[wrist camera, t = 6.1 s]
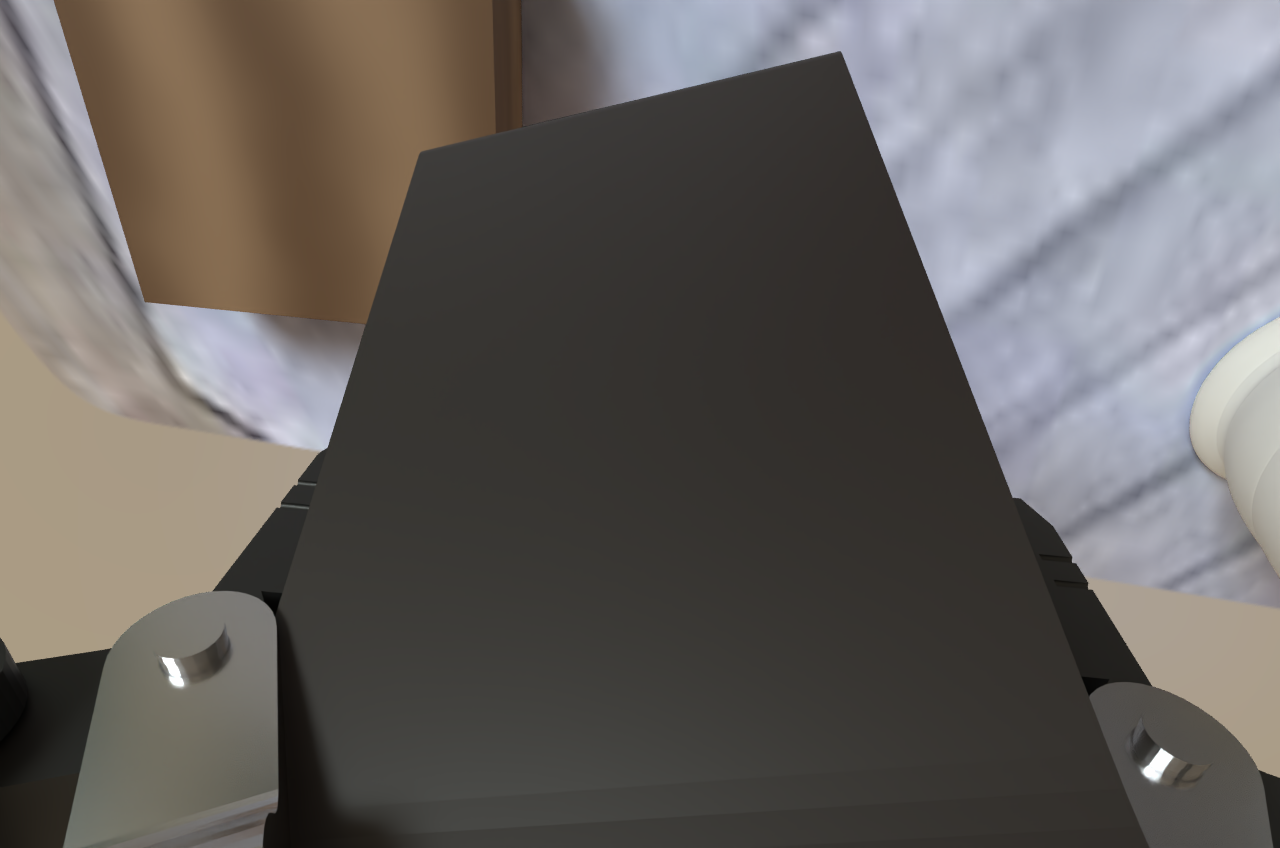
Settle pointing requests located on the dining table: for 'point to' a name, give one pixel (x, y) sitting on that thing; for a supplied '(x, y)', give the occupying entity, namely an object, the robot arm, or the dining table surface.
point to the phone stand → (674, 515)
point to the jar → (1245, 431)
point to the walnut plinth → (281, 134)
